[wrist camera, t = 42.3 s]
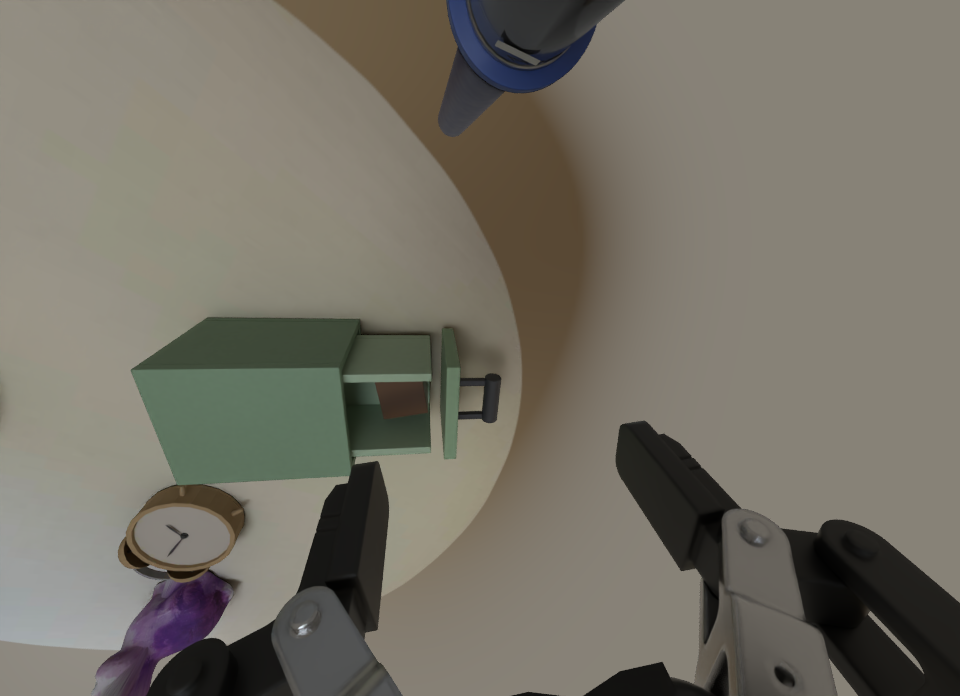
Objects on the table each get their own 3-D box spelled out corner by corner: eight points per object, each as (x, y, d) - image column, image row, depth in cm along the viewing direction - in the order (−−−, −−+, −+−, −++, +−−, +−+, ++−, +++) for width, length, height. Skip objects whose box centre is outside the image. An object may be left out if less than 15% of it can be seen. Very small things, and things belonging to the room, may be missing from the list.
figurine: (141, 598, 51) (44, 747, 38) (175, 558, 49) (83, 702, 36) (209, 615, 55) (141, 757, 42) (243, 579, 53) (183, 717, 39)
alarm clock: (255, 523, 44) (185, 609, 46) (266, 496, 49) (202, 575, 50) (157, 486, 40) (82, 582, 41) (179, 460, 45) (112, 547, 46)
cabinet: (359, 319, 38) (339, 367, 29) (367, 409, 43) (351, 476, 34) (207, 317, 36) (129, 369, 26) (233, 412, 41) (177, 485, 31)
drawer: (492, 328, 40) (510, 367, 32) (485, 406, 44) (499, 456, 36) (321, 327, 37) (294, 369, 29) (333, 410, 41) (312, 466, 34)
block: (379, 360, 38) (374, 382, 34) (421, 354, 39) (421, 375, 35) (387, 395, 40) (383, 419, 36) (427, 389, 41) (428, 413, 37)
